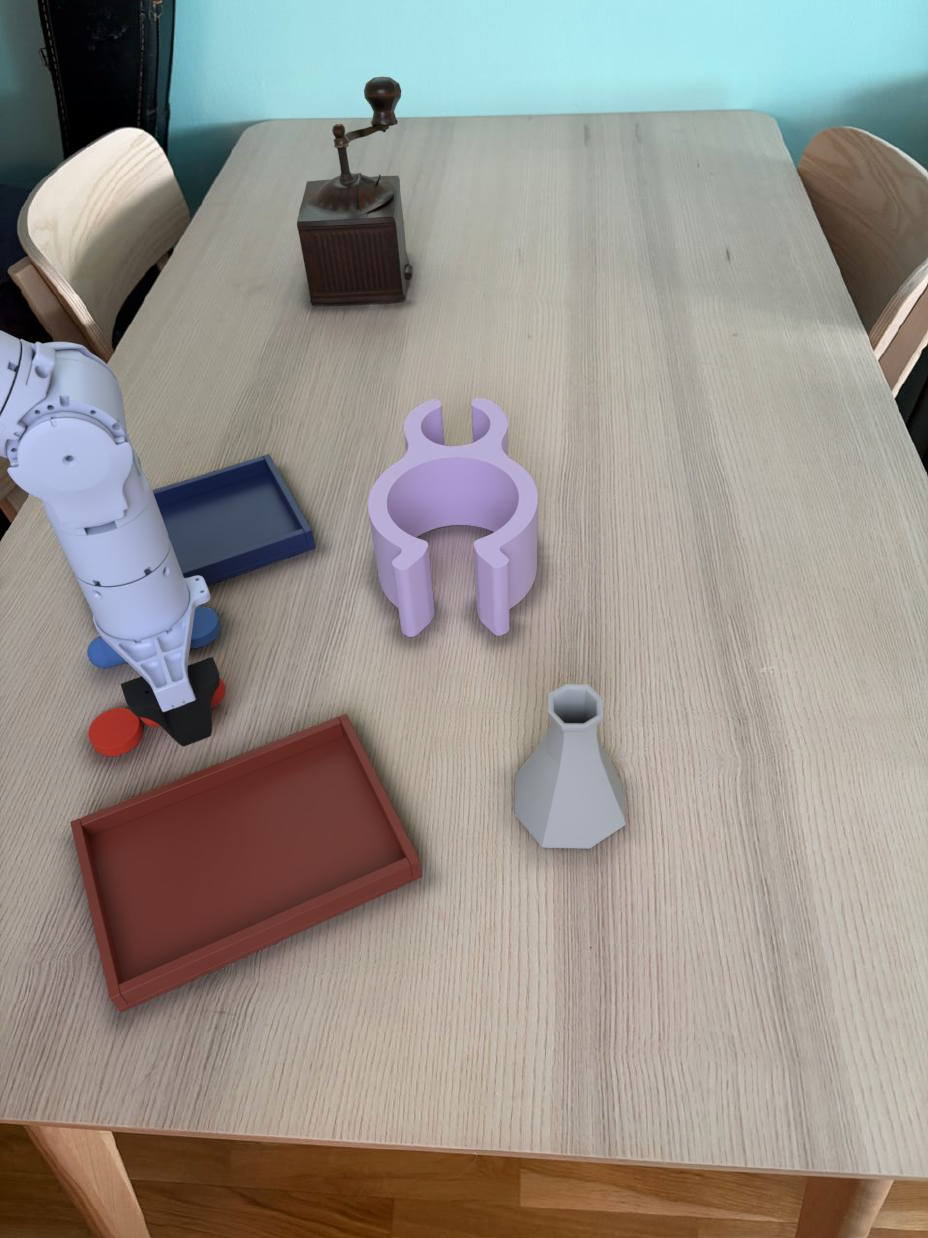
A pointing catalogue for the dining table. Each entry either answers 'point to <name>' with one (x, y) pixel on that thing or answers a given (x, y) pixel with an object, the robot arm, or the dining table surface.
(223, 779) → the red tray
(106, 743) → the red disc-ended bar
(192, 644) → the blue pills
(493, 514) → the clip
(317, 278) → the manual coffee grinder
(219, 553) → the blue tray
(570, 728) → the flask
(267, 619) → the dining table surface
